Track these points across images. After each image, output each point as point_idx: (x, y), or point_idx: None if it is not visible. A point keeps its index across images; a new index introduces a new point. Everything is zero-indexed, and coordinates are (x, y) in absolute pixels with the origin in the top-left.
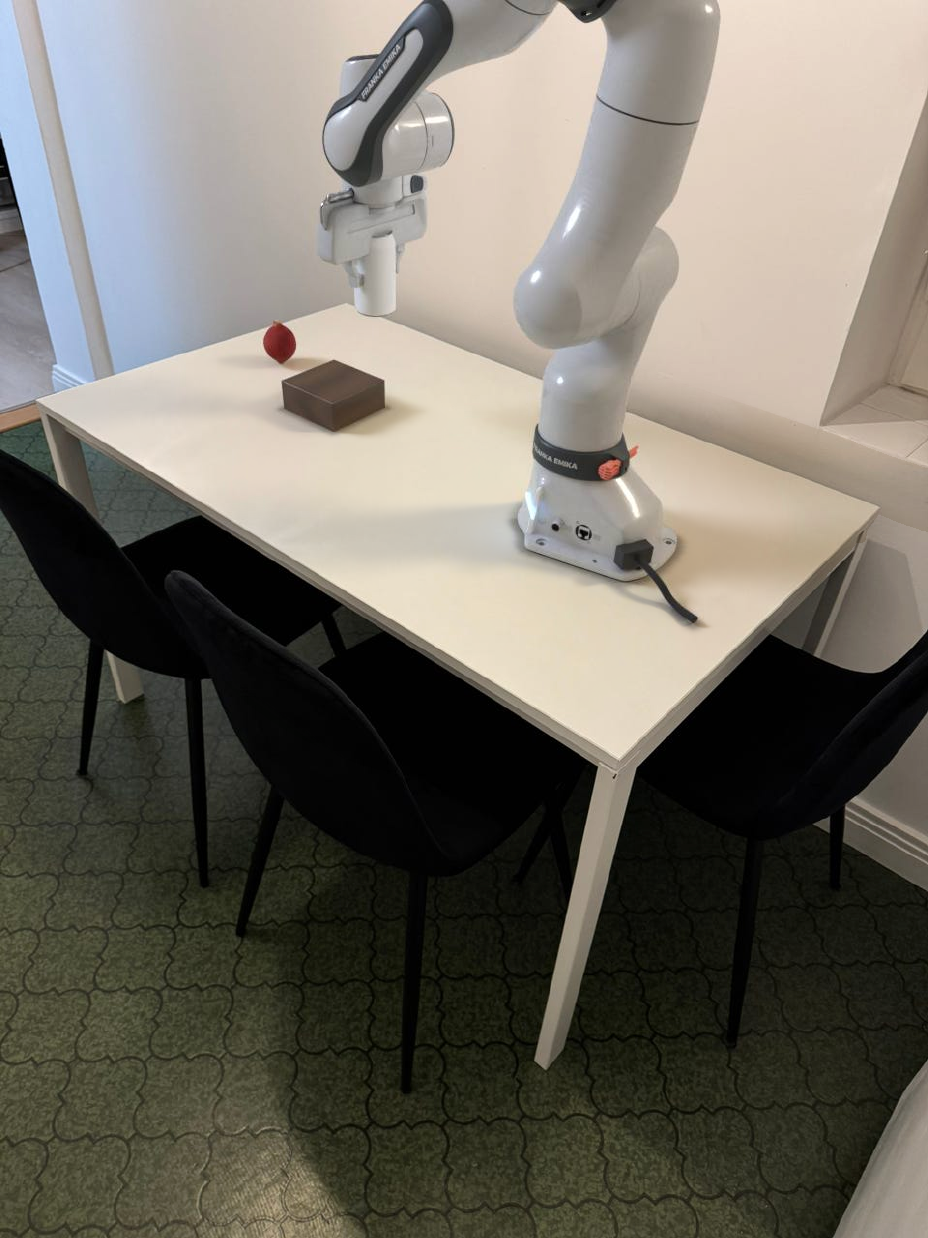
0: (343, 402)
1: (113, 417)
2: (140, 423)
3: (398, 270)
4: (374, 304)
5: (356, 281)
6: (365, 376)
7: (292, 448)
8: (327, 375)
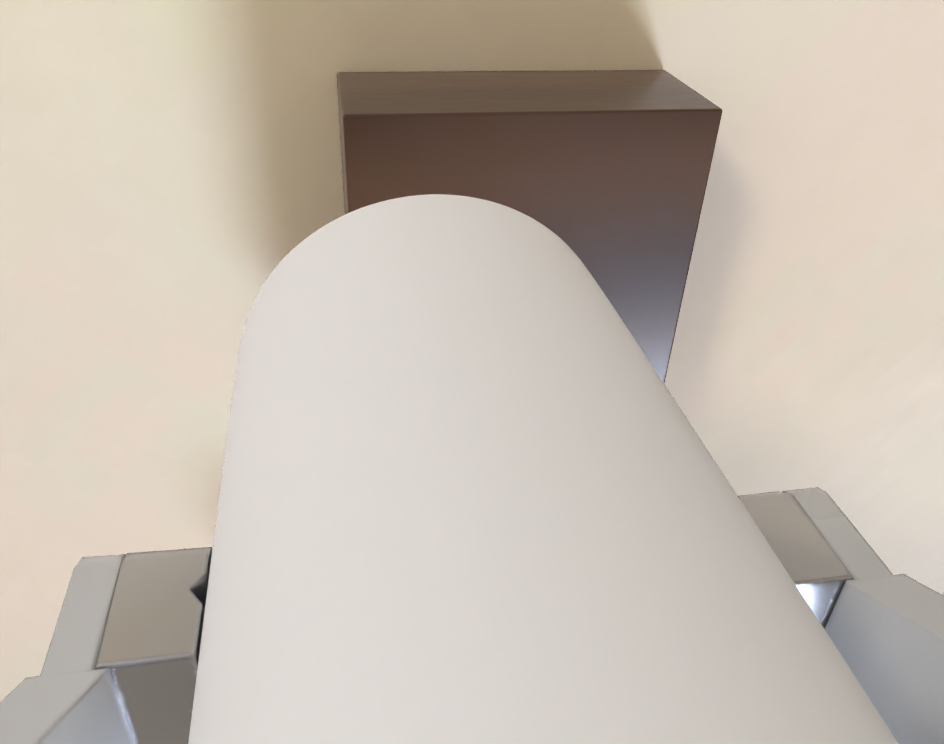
0: (646, 103)
1: (899, 558)
2: (901, 504)
3: (86, 576)
4: (604, 298)
5: (857, 531)
6: None
7: (855, 92)
8: None
